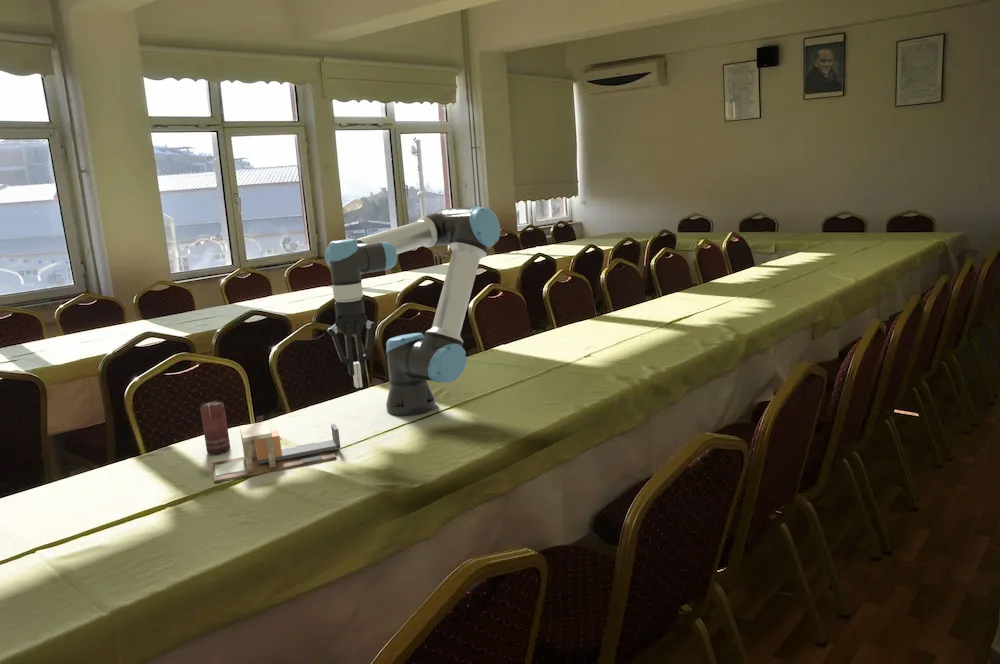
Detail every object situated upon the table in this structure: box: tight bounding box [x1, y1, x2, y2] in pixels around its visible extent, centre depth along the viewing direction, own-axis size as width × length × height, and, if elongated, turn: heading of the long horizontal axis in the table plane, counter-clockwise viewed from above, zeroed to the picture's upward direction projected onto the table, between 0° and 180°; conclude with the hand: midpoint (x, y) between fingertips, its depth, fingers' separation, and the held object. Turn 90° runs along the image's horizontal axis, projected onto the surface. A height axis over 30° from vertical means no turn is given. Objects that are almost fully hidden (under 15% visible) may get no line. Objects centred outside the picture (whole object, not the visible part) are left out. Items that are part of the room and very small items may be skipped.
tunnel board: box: [212, 420, 337, 483], centre depth 203 cm, size 30×14×10 cm, turn 112°
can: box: [199, 400, 231, 456], centre depth 213 cm, size 6×6×14 cm
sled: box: [254, 423, 341, 464], centre depth 205 cm, size 21×5×6 cm, turn 112°
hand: (358, 386), depth 209 cm, fingers closed
